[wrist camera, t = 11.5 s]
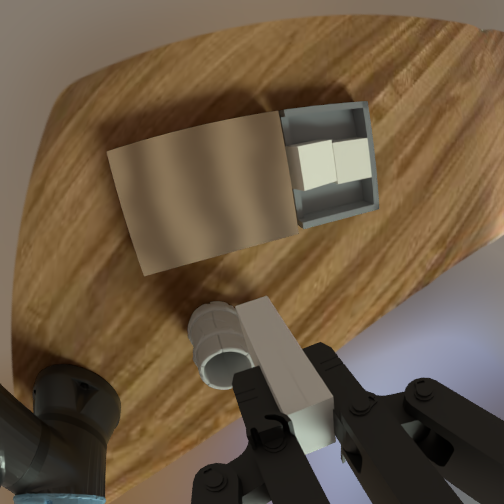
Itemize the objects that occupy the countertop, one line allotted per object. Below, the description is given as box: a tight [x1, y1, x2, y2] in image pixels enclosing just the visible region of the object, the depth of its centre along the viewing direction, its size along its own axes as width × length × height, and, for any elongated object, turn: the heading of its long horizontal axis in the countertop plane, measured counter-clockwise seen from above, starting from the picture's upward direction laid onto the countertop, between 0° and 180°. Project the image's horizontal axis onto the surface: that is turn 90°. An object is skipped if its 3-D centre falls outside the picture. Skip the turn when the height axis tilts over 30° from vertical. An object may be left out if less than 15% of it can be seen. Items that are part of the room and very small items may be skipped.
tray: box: [278, 101, 379, 229], centre depth 37 cm, size 11×14×3 cm
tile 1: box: [332, 137, 372, 184], centre depth 37 cm, size 5×5×2 cm
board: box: [107, 111, 299, 276], centre depth 34 cm, size 18×14×4 cm
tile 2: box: [285, 140, 337, 191], centre depth 36 cm, size 5×5×2 cm
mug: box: [188, 301, 255, 390], centre depth 37 cm, size 8×12×12 cm, turn 102°
